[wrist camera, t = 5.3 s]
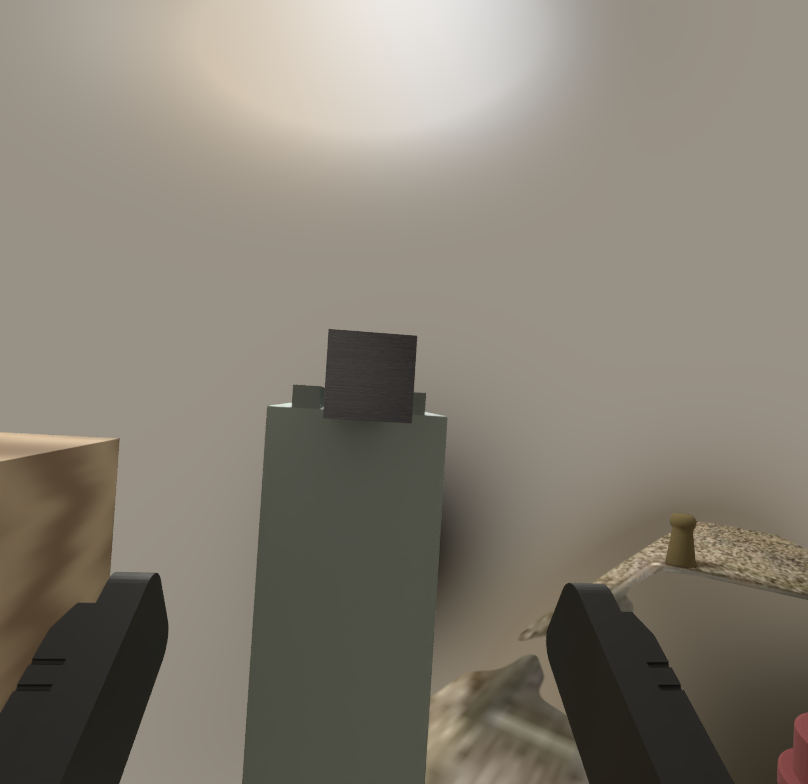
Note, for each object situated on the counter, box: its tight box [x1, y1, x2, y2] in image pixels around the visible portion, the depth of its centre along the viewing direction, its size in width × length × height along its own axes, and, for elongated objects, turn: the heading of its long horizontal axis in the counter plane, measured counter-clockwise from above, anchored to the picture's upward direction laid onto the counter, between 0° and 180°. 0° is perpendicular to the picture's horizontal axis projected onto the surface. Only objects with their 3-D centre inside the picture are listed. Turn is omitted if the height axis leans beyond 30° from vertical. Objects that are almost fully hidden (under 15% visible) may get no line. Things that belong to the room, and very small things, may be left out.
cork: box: [666, 513, 696, 568], centre depth 116 cm, size 6×6×11 cm
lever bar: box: [323, 329, 417, 423], centre depth 26 cm, size 22×2×2 cm, turn 7°
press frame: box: [242, 385, 447, 784], centre depth 28 cm, size 12×10×33 cm
